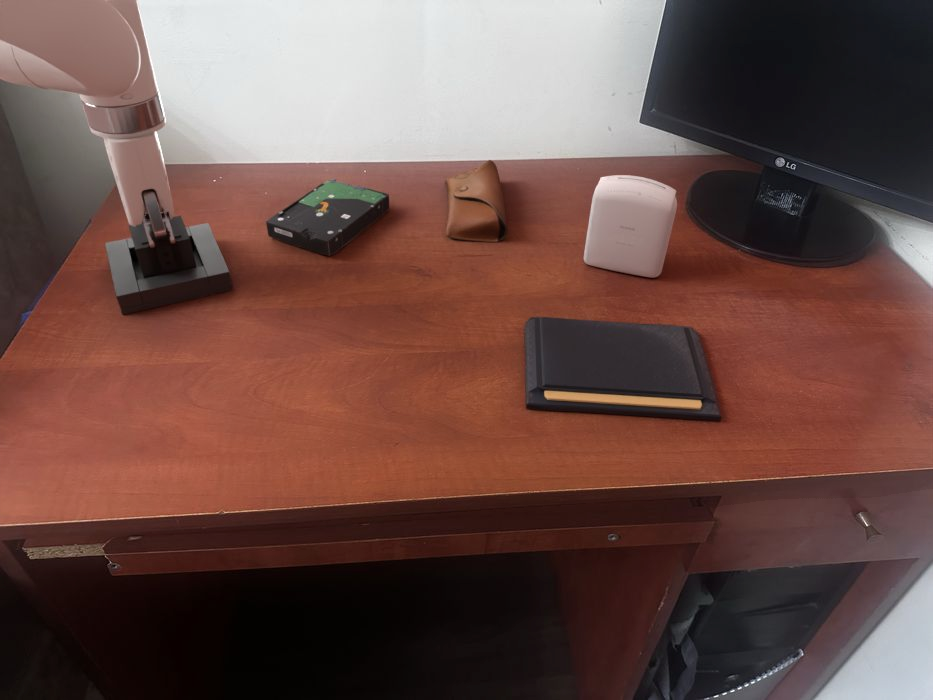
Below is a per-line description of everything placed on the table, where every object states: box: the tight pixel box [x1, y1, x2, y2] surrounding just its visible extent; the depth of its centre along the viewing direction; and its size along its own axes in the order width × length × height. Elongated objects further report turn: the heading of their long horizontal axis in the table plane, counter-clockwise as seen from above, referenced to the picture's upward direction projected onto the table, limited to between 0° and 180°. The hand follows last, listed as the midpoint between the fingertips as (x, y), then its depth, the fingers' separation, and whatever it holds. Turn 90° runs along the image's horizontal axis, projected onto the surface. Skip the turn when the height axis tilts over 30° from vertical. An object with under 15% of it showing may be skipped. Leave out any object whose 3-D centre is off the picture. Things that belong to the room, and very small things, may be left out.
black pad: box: [128, 215, 197, 279], centre depth 85 cm, size 6×6×4 cm
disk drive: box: [265, 178, 390, 257], centre depth 97 cm, size 10×3×15 cm
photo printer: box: [583, 174, 678, 279], centre depth 88 cm, size 10×4×12 cm, turn 70°
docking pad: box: [104, 222, 234, 316], centre depth 86 cm, size 12×12×3 cm
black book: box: [523, 316, 723, 422], centre depth 76 cm, size 20×2×15 cm
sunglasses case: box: [444, 159, 508, 243], centre depth 102 cm, size 18×7×7 cm, turn 3°
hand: (165, 256), depth 85 cm, fingers closed on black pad, 5 cm apart
